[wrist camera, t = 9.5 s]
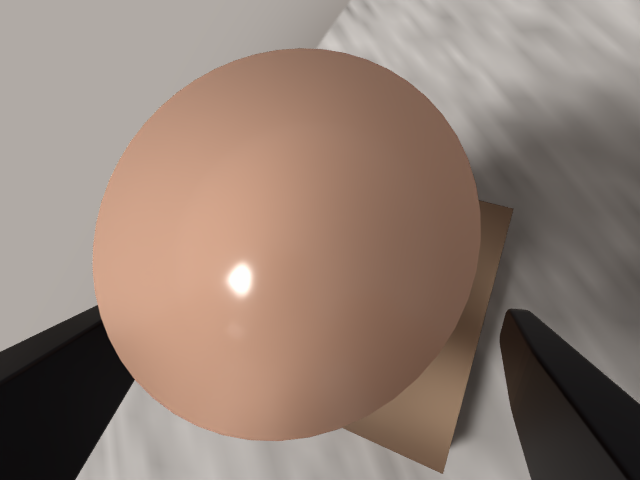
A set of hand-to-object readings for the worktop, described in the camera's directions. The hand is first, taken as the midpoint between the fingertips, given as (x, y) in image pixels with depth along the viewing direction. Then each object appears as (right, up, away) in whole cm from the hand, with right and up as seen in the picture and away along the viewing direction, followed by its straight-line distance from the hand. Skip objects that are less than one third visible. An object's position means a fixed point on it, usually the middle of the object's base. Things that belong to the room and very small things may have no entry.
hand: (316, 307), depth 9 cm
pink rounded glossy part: (+2, -1, +8) cm, 8 cm away
